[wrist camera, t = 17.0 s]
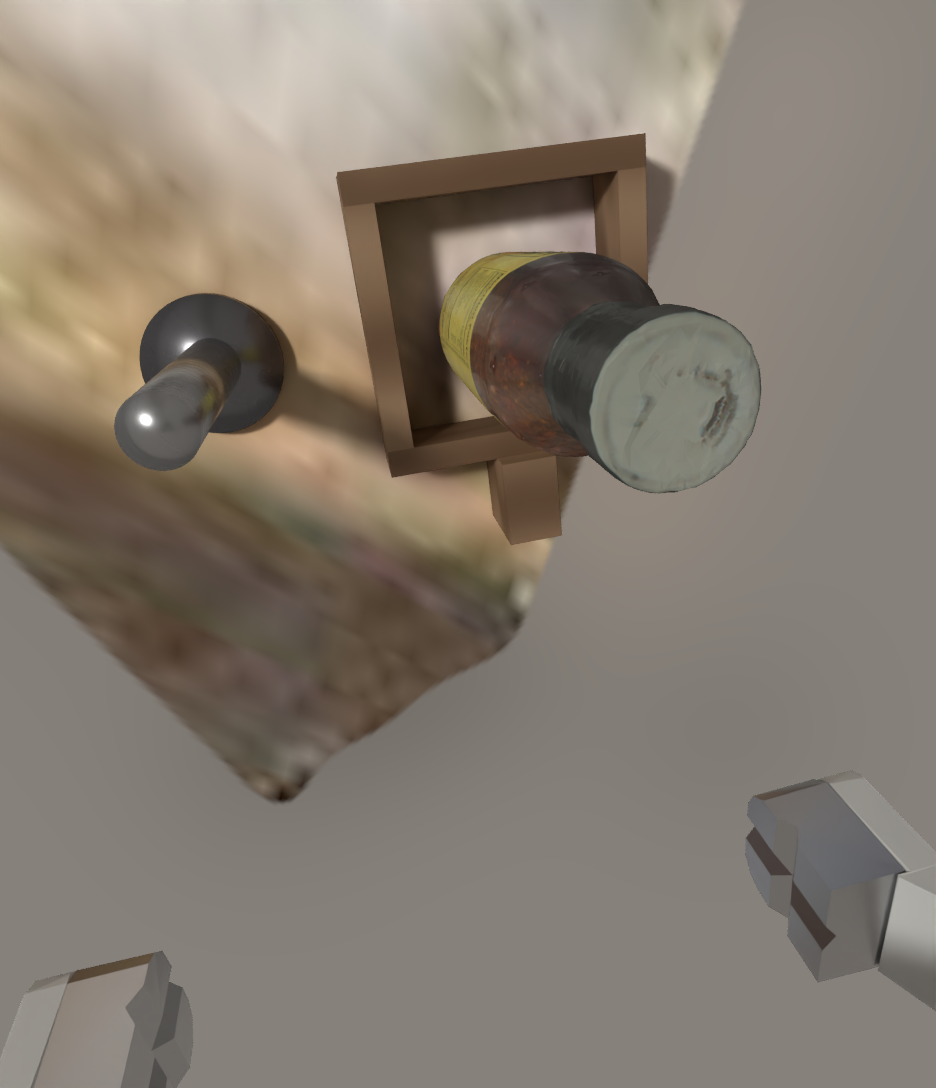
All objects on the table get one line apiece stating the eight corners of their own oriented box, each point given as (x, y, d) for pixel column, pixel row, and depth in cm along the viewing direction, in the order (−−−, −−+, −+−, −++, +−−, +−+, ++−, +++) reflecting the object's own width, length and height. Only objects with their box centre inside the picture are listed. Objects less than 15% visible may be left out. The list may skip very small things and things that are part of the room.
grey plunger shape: (123, 304, 30) (11, 343, 19) (266, 283, 31) (234, 311, 20) (166, 439, 33) (88, 542, 22) (297, 417, 33) (283, 506, 23)
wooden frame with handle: (336, 177, 30) (337, 170, 26) (617, 141, 31) (656, 130, 28) (399, 532, 37) (408, 564, 33) (627, 489, 38) (659, 516, 34)
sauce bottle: (588, 325, 34) (877, 427, 16) (493, 415, 35) (667, 606, 17) (500, 213, 32) (731, 190, 14) (400, 315, 32) (493, 417, 15)
